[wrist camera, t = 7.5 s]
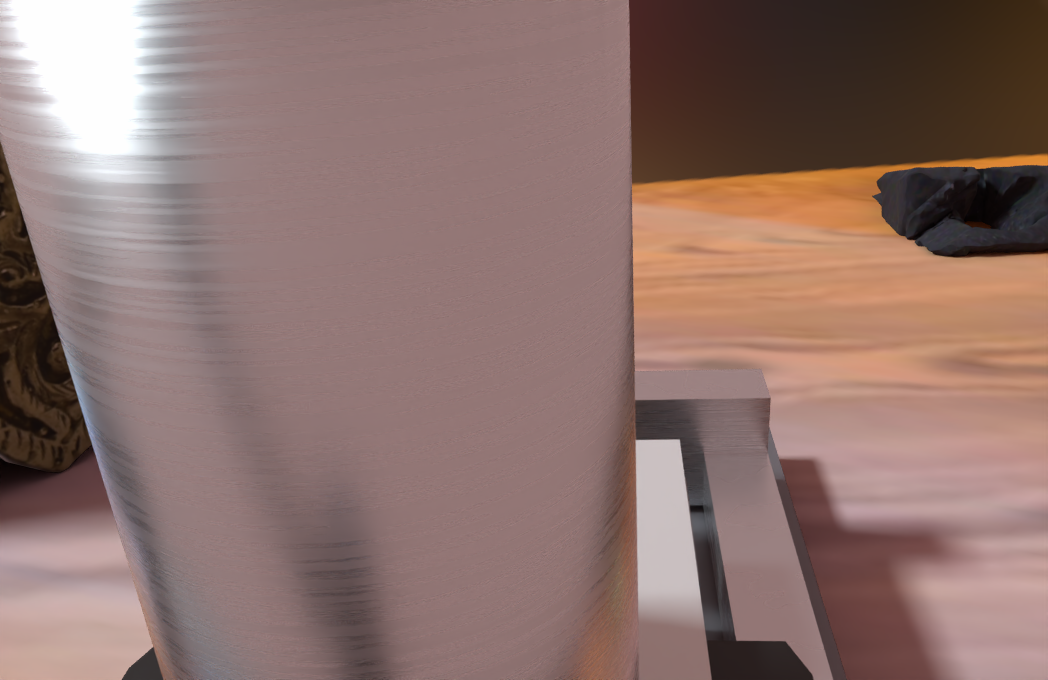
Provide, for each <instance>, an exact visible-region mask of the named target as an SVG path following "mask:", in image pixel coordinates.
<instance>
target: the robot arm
mask: <svg viewBox="0 0 1048 680" xmlns="http://www.w3.org/2000/svg"><path fill="white" fill-rule="evenodd" d="M636 494H637V558H638V623H639V680H814V679H813V675H812V673H811V672H810V671H809V670H808V668H807V667H806V666H805V665H804V664H803V662H802V661H801V660H800V659H799V657H798V656H797V655H796V654H795V652H794V651H793V650H792V649H791V647H790V646H789V645H788V644H787V642H786V641H722V640H706V633H705V626H704V618H703V611H702V603H701V596H700V588H699V581H698V573H697V566H696V559H695V551H694V544H693V536H692V529H691V521H690V514H689V506H688V499H687V491H686V484H685V476H684V469H683V461H682V454H681V446H680V439H679V440H636ZM122 680H163V677H162V673H161V670H160V667H159V664H158V660H157V657H156V654H155V650H154V647H153V648H152V649H150V650H149V651H148V652H147V653H146V654H145V655H144V656H142V657H141V658H140V659H139V660H138V661H137V662H135V663H134V664H133V665H132V666H131V667H130V668H129V669H128V671H127V672H126V674H125V675H124V677H123V679H122Z"/></svg>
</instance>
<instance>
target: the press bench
mask: <svg viewBox="0 0 1048 680" xmlns="http://www.w3.org/2000/svg"><path fill="white" fill-rule="evenodd" d="M768 456H769V460H770V463H771V466H772V470H773V473H774V477H775V480H776V484H777V487H778V491H779V494H780V498H781V501H782V505H783V508H784V511H785V515H786V518H787V522H788V525H789V529H790V532H791V536H792V539H793V543H794V546H795V549H796V553H797V556H798V560H799V563H800V567H801V570H802V574H803V577H804V581H805V584H806V588H807V591H808V594H809V598H810V601H811V605H812V608H813V612H814V615H815V619H816V622H817V626H818V629H819V632H820V636H821V639H822V643H823V646H824V650H825V653H826V657H827V660H828V664H829V667H830V671H831V674H832V677H833V680H847V679H846V676H845V673H844V669H843V666H842V663H841V659H840V656H839V653H838V650H837V646H836V643H835V640H834V637H833V633H832V630H831V627H830V624H829V620H828V617H827V614H826V611H825V607H824V604H823V601H822V598H821V594H820V591H819V588H818V585H817V581H816V578H815V575H814V571H813V568H812V565H811V562H810V558H809V555H808V552H807V549H806V545H805V542H804V539H803V536H802V532H801V529H800V526H799V523H798V519H797V516H796V513H795V510H794V506H793V503H792V500H791V497H790V493H789V490H788V487H787V483H786V480H785V477H784V474H783V470H782V467H781V464H780V461H779V457H778V454H777V451H776V448H775V444H774V441H773V438H772V435H771V431H770V428H769V437H768ZM690 511H691V519H692V526H693V534H694V541H695V549H696V556H697V564H698V572H699V579H700V596H701V603H702V611H703V618H704V626H705V633H706V640H722V641H724V637H723V631H722V624H721V618H720V611H719V605H718V598H717V592H716V585H715V579H714V573H713V566H712V560H711V553H710V547H709V540H708V534H707V527H706V521H705V515H704V508H703V505H690Z"/></svg>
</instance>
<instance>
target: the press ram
mask: <svg viewBox="0 0 1048 680" xmlns="http://www.w3.org/2000/svg"><path fill="white" fill-rule="evenodd" d="M630 107H631V106H630V42H629V0H0V142H1V145H2V148H3V152H4V155H5V158H6V161H7V165H8V168H9V171H10V175H11V178H12V181H13V185H14V188H15V191H16V194H17V198H18V201H19V204H20V208H21V211H22V214H23V218H24V221H25V224H26V227H27V231H28V234H29V237H30V241H31V244H32V247H33V251H34V254H35V257H36V261H37V264H38V267H39V270H40V274H41V277H42V280H43V284H44V287H45V290H46V294H47V297H48V300H49V303H50V307H51V310H52V313H53V317H54V320H55V323H56V327H57V330H58V333H59V337H60V340H61V343H62V346H63V350H64V353H65V356H66V360H67V363H68V366H69V370H70V373H71V376H72V379H73V383H74V386H75V389H76V393H77V396H78V399H79V403H80V406H81V409H82V412H83V416H84V419H85V422H86V426H87V429H88V432H89V436H90V439H91V442H92V446H93V449H94V452H95V455H96V459H97V462H98V465H99V469H100V472H101V475H102V479H103V482H104V485H105V488H106V492H107V495H108V498H109V502H110V505H111V508H112V512H113V515H114V518H115V521H116V525H117V528H118V531H119V535H120V538H121V541H122V545H123V548H124V551H125V555H126V558H127V561H128V564H129V568H130V571H131V574H132V578H133V581H134V584H135V588H136V591H137V594H138V597H139V601H140V604H141V607H142V611H143V614H144V617H145V621H146V624H147V627H148V630H149V634H150V637H151V640H152V644H153V647H154V650H155V654H156V657H157V660H158V664H159V667H160V670H161V673H162V677H163V680H639V623H638V558H637V494H636V440H679V439H680V446H681V454H682V461H683V469H684V476H685V478H686V481H687V489H688V496H689V504H690V505H703V508H704V515H705V521H706V527H707V534H708V540H709V547H710V553H711V560H712V566H713V573H714V579H715V585H716V592H717V598H718V605H719V611H720V618H721V624H722V631H723V637H724V641H786V642H787V644H788V645H789V646H790V647H791V649H792V650H793V651H794V652H795V654H796V655H797V656H798V657H799V659H800V660H801V661H802V662H803V664H804V665H805V666H806V667H807V668H808V670H809V671H810V672H811V673H812V675H813V679H814V680H833V677H832V674H831V671H830V667H829V664H828V660H827V657H826V653H825V650H824V646H823V643H822V639H821V636H820V632H819V629H818V626H817V622H816V619H815V615H814V612H813V608H812V605H811V601H810V598H809V594H808V591H807V588H806V584H805V581H804V577H803V574H802V570H801V567H800V563H799V560H798V556H797V553H796V549H795V546H794V543H793V539H792V536H791V532H790V529H789V525H788V522H787V518H786V515H785V511H784V508H783V505H782V501H781V498H780V494H779V491H778V487H777V484H776V480H775V477H774V473H773V470H772V466H771V463H770V460H769V456H768V437H769V419H770V400H771V398H770V395H769V392H768V388H767V385H766V382H765V379H764V376H763V373H762V370H761V369H735V370H681V371H635V365H634V300H633V235H632V176H631V175H632V172H631V109H630Z"/></svg>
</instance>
